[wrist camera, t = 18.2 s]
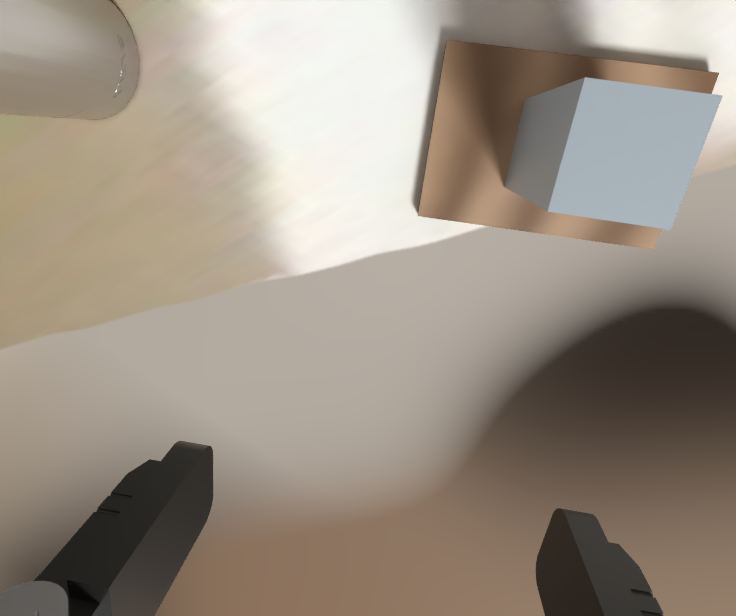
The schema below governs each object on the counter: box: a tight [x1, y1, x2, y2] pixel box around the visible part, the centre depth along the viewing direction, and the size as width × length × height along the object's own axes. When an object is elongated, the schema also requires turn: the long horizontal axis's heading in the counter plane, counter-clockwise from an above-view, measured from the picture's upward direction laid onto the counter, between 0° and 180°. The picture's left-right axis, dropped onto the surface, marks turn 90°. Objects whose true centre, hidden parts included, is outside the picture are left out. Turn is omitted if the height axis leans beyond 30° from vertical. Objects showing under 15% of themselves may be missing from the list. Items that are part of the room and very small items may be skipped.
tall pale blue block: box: [504, 77, 722, 230], centre depth 26 cm, size 6×6×12 cm
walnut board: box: [418, 40, 719, 250], centre depth 32 cm, size 18×12×1 cm, turn 83°
